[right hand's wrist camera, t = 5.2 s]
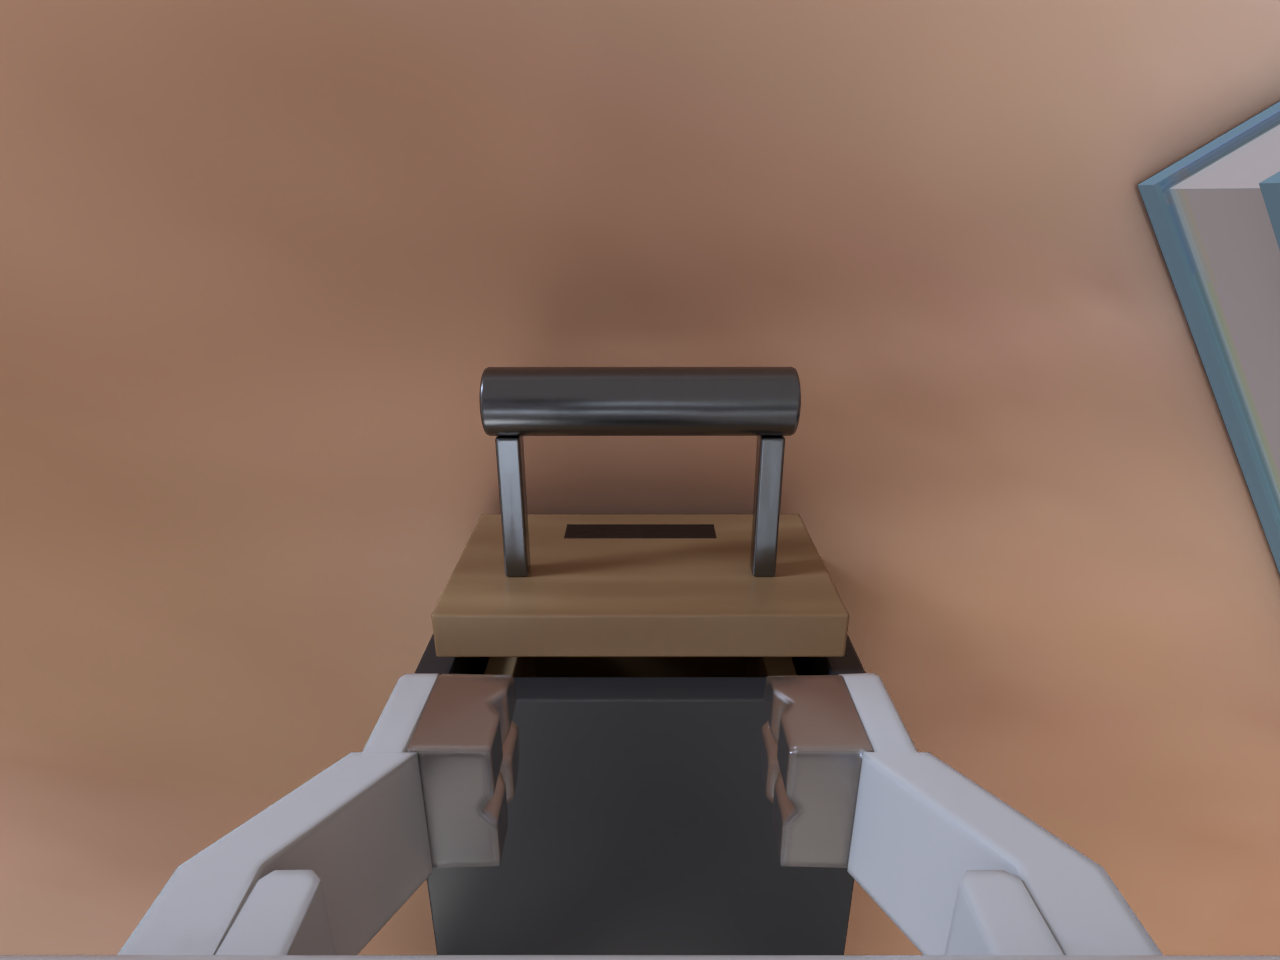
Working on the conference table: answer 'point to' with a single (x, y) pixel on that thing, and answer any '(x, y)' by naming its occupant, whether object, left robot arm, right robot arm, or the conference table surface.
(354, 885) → the right robot arm
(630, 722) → the dark boxy piece
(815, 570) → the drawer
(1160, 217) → the book
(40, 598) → the conference table surface
